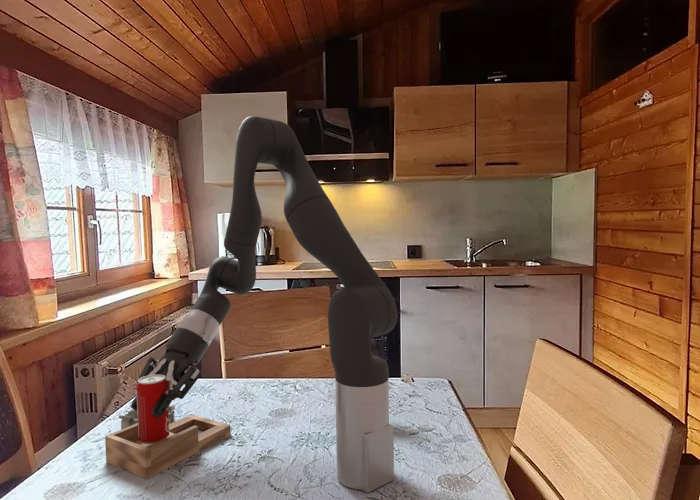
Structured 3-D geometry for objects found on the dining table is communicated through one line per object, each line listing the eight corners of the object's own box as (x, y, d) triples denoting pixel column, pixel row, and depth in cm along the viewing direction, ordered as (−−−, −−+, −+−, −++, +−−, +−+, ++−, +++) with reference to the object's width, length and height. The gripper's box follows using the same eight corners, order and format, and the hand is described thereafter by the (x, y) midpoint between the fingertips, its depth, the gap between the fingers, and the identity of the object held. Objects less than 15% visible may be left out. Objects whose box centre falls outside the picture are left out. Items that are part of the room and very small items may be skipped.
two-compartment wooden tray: (230, 434, 98) (230, 411, 98) (146, 479, 81) (145, 451, 81) (192, 423, 104) (191, 401, 104) (106, 462, 87) (105, 436, 87)
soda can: (171, 440, 88) (169, 378, 88) (140, 447, 86) (137, 383, 85) (167, 429, 93) (164, 370, 92) (137, 436, 90) (134, 375, 90)
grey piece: (116, 434, 100) (115, 416, 100) (132, 420, 107) (131, 402, 107) (166, 433, 100) (165, 414, 100) (178, 418, 108) (178, 401, 107)
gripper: (159, 323, 98) (107, 397, 89) (207, 329, 91) (156, 411, 81) (181, 342, 103) (134, 414, 94) (228, 350, 96) (182, 429, 86)
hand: (144, 412), depth 87 cm, fingers closed on soda can, 5 cm apart
